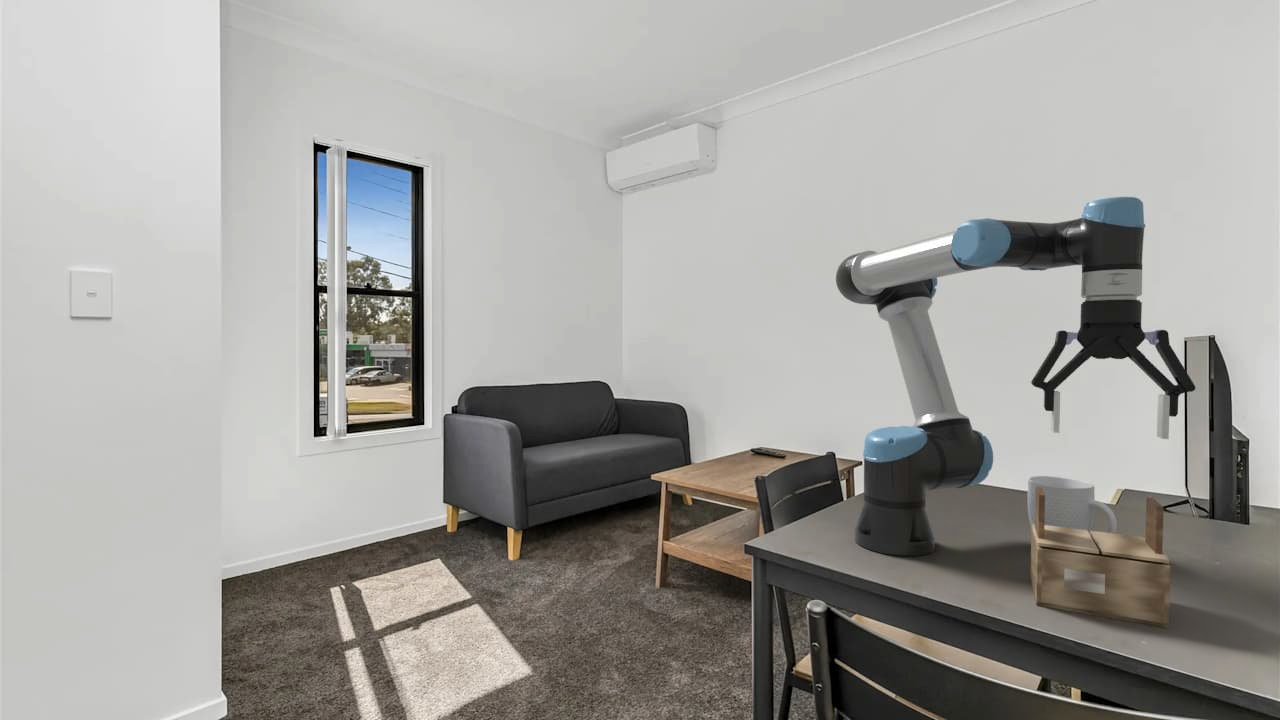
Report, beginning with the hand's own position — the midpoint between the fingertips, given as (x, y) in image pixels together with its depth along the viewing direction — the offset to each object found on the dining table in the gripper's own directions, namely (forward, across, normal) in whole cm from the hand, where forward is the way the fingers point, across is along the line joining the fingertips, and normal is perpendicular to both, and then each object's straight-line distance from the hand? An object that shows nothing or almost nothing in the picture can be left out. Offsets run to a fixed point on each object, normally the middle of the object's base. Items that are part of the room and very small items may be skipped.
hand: (1107, 434), depth 95 cm
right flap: (+17, +3, -1) cm, 18 cm away
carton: (+27, -1, -1) cm, 27 cm away
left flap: (+17, -5, -1) cm, 18 cm away
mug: (+27, -1, +27) cm, 38 cm away
